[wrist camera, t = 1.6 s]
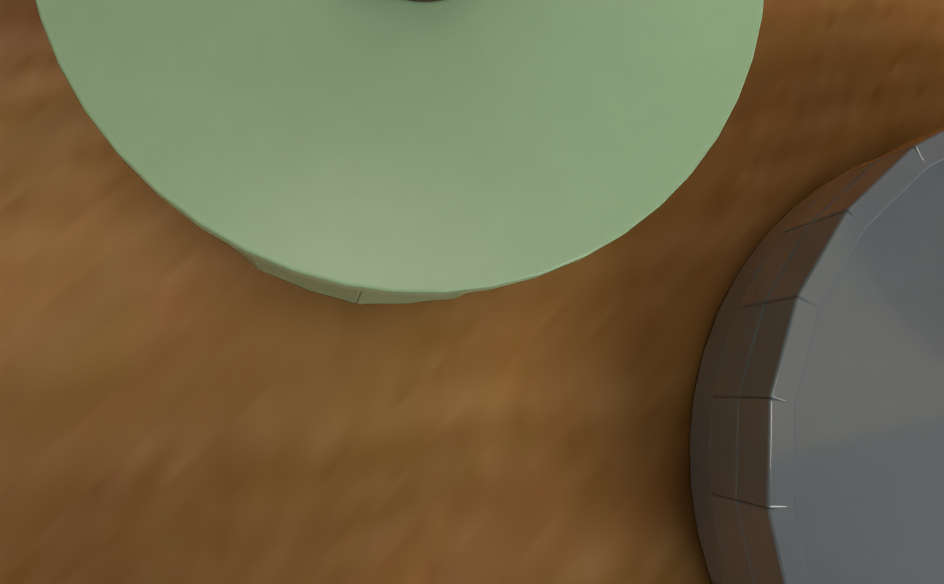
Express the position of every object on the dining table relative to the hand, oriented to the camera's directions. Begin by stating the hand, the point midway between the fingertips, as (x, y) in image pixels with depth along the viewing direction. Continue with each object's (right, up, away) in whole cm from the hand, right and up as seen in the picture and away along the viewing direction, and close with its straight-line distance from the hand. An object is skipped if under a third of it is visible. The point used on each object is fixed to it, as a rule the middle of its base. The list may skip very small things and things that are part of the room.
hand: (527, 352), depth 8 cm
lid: (-1, +7, +8) cm, 10 cm away
